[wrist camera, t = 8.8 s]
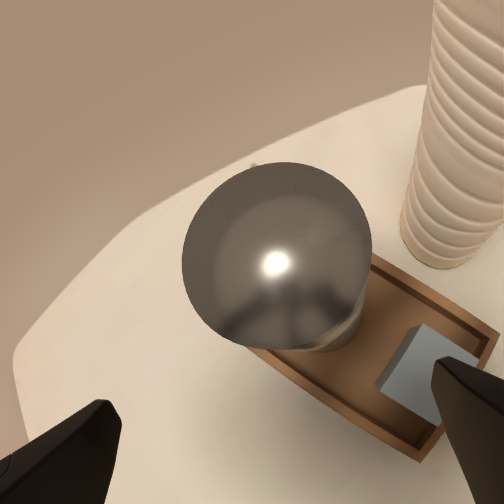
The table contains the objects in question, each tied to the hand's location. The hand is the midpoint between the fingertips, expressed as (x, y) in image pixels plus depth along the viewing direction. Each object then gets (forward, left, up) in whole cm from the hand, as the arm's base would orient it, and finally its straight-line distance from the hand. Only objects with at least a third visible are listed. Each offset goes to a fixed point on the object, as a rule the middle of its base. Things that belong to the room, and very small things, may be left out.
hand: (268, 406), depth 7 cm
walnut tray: (-1, -3, -14) cm, 15 cm away
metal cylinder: (+2, -3, -12) cm, 13 cm away
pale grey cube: (-5, -3, -12) cm, 14 cm away
